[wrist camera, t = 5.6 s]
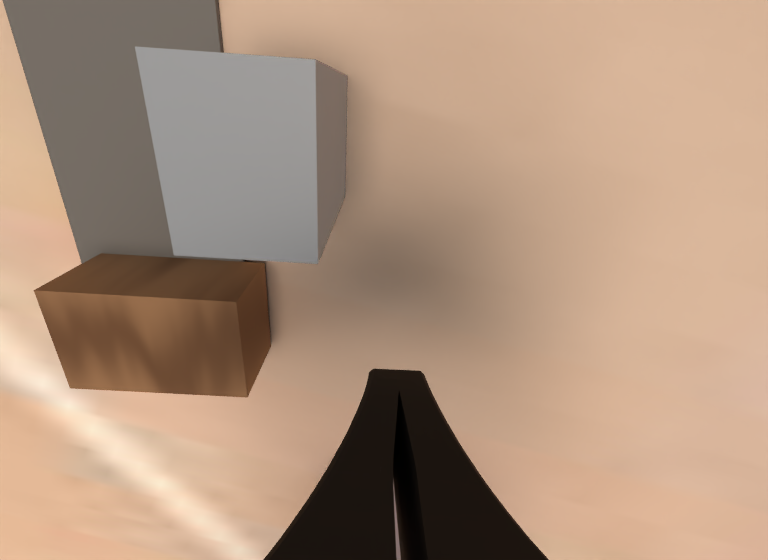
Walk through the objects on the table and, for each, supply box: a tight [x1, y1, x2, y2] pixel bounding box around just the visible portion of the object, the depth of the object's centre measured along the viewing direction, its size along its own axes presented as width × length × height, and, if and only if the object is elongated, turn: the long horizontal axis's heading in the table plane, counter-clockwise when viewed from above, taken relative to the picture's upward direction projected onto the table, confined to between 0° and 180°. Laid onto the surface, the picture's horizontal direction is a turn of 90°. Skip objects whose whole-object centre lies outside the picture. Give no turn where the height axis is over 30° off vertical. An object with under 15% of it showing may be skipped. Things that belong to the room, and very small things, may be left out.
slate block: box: [135, 46, 348, 264], centre depth 13 cm, size 5×4×8 cm
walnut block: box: [34, 253, 271, 397], centre depth 18 cm, size 5×4×8 cm
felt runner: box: [3, 0, 245, 264], centre depth 18 cm, size 18×8×1 cm, turn 176°
